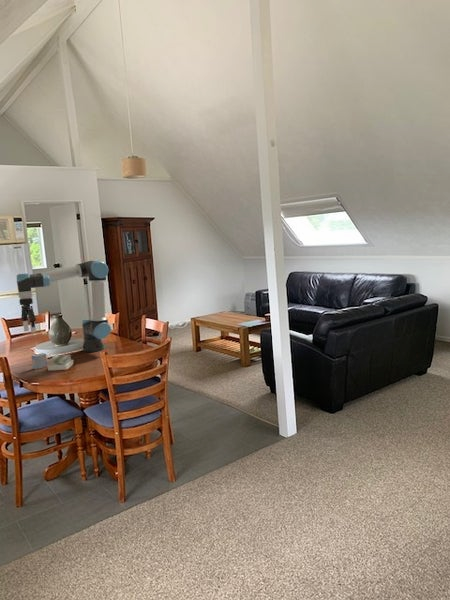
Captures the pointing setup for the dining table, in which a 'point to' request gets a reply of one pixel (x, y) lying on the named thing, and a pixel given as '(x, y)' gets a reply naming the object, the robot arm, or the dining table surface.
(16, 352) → the dining table surface
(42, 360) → the medicine box
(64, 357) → the tower top slab
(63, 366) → the tower base slab
